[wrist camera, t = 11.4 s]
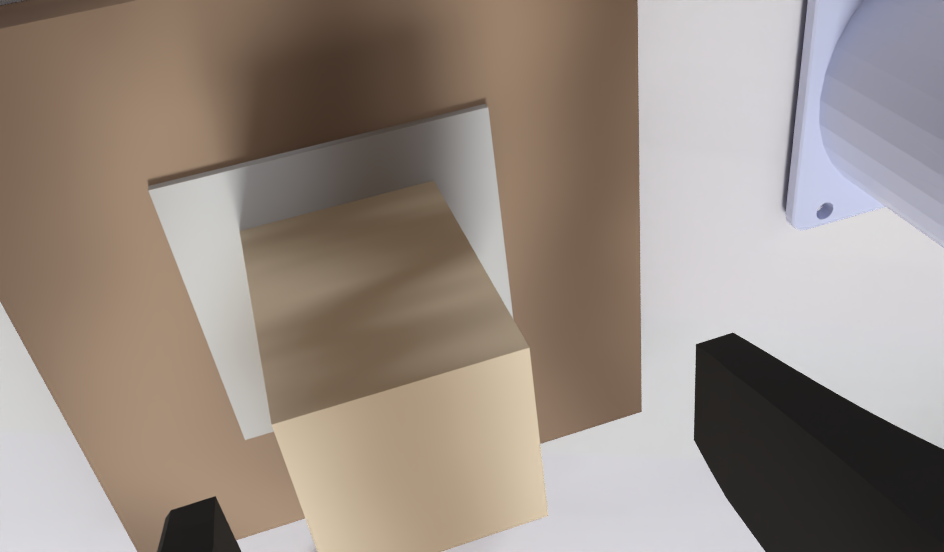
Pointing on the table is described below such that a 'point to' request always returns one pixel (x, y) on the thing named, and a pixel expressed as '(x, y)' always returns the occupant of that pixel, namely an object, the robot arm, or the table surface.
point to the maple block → (393, 376)
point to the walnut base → (299, 206)
